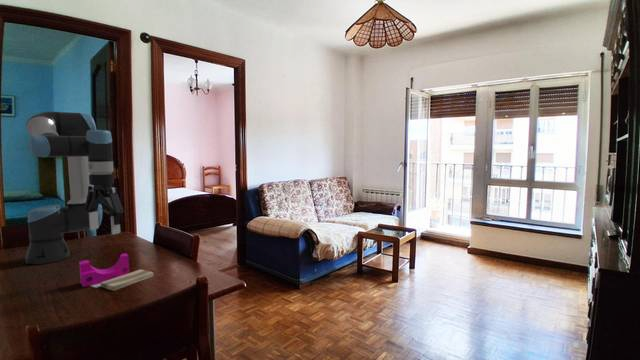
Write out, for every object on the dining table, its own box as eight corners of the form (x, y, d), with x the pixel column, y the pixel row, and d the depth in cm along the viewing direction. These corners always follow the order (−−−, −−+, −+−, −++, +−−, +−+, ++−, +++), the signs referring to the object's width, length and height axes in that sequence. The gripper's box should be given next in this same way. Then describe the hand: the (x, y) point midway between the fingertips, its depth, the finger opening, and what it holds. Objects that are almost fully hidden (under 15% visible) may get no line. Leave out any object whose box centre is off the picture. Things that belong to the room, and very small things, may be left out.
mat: (79, 282, 122) (79, 282, 122) (115, 271, 134) (115, 270, 134) (95, 288, 118) (95, 287, 117) (131, 275, 129) (131, 274, 129)
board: (100, 286, 119) (100, 282, 118) (140, 272, 132) (140, 269, 132) (113, 290, 115) (113, 286, 115) (153, 276, 128) (153, 272, 128)
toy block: (82, 287, 118) (81, 266, 117) (80, 281, 122) (79, 261, 122) (131, 276, 127) (129, 257, 127) (127, 272, 132) (126, 253, 131)
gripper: (71, 172, 124) (74, 229, 126) (111, 175, 112) (115, 238, 114) (92, 171, 131) (96, 225, 133) (133, 174, 119) (136, 233, 121)
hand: (104, 231), depth 124 cm, fingers open, 13 cm apart
